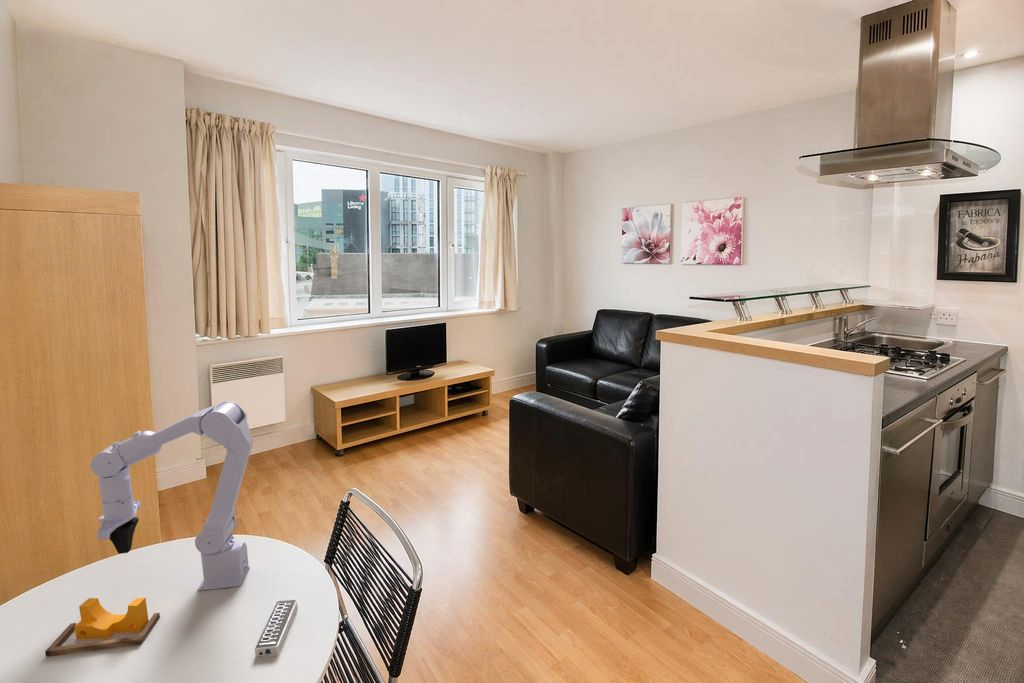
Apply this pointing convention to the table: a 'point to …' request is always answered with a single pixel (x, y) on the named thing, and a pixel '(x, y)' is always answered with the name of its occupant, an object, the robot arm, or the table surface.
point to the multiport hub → (276, 628)
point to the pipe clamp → (110, 620)
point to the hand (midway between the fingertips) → (124, 551)
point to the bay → (99, 645)
